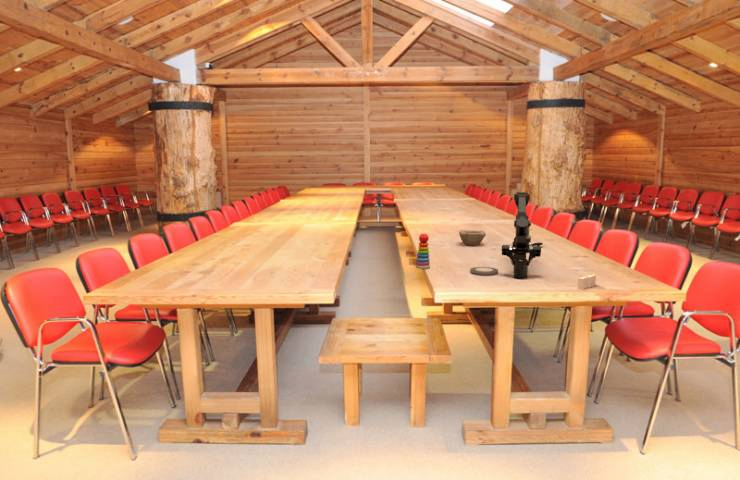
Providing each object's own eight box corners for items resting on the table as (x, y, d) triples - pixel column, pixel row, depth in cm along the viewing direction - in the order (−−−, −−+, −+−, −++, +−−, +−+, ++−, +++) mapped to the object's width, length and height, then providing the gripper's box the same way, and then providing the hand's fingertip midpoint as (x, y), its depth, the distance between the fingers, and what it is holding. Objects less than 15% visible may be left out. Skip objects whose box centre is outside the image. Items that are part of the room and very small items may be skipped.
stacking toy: (418, 270, 288) (418, 234, 285) (413, 266, 295) (413, 232, 292) (432, 269, 290) (432, 234, 287) (426, 266, 297) (427, 232, 294)
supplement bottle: (525, 275, 272) (525, 252, 271) (529, 279, 266) (530, 254, 264) (511, 276, 272) (512, 252, 270) (515, 279, 266) (516, 255, 264)
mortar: (484, 243, 368) (484, 229, 367) (485, 247, 352) (486, 233, 350) (458, 242, 371) (459, 229, 369) (459, 247, 354) (459, 233, 353)
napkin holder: (593, 284, 257) (594, 272, 256) (607, 290, 246) (608, 278, 245) (563, 285, 255) (564, 273, 254) (575, 291, 244) (576, 279, 243)
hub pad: (490, 269, 289) (490, 265, 288) (503, 274, 275) (503, 271, 275) (465, 270, 285) (465, 267, 285) (477, 276, 272) (477, 273, 271)
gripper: (502, 228, 271) (501, 254, 263) (541, 230, 267) (541, 256, 258) (502, 241, 280) (501, 267, 271) (540, 243, 275) (540, 269, 267)
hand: (520, 265), depth 267 cm, fingers closed on supplement bottle, 7 cm apart
